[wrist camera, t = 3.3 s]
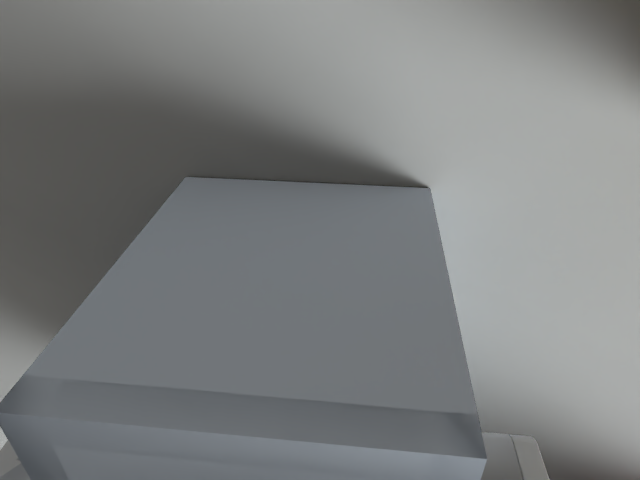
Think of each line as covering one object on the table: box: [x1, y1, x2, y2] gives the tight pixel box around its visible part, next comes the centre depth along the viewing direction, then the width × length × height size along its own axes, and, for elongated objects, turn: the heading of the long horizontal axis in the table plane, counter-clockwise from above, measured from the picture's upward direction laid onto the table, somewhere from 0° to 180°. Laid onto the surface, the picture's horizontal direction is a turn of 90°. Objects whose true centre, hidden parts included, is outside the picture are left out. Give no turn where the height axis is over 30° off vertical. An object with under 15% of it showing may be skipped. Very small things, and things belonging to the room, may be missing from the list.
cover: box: [0, 177, 487, 480], centre depth 11 cm, size 6×9×8 cm, turn 0°
